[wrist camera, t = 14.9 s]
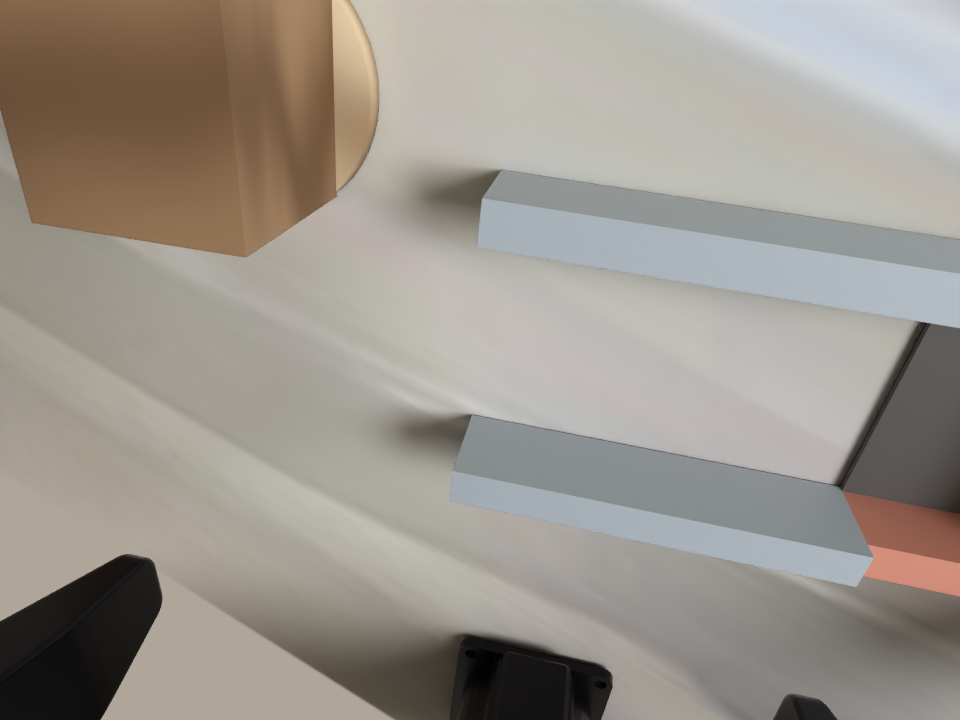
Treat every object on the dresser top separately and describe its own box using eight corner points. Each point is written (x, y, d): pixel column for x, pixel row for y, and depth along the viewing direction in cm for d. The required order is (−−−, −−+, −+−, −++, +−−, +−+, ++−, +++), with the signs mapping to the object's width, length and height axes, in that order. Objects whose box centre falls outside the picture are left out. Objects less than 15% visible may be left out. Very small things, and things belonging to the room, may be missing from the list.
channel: (825, 514, 20) (856, 587, 18) (468, 442, 22) (449, 501, 19) (969, 241, 16) (1039, 286, 13) (501, 170, 17) (482, 198, 14)
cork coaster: (376, 227, 18) (367, 235, 18) (157, 191, 19) (141, 198, 18) (382, -55, 15) (371, -58, 14) (114, -87, 16) (92, -91, 15)
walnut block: (336, 196, 17) (246, 257, 13) (170, 171, 18) (31, 222, 14) (331, -12, 15) (217, -21, 11) (139, -33, 15) (-44, -51, 11)
